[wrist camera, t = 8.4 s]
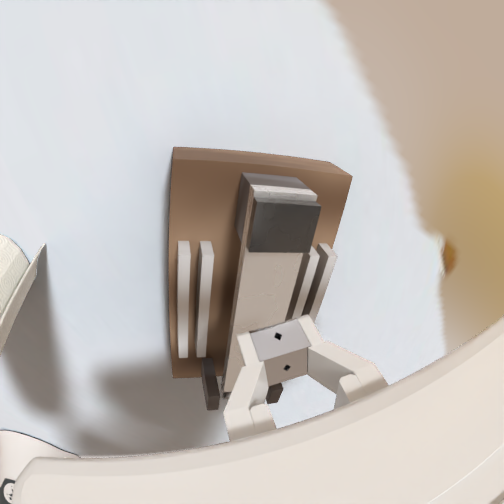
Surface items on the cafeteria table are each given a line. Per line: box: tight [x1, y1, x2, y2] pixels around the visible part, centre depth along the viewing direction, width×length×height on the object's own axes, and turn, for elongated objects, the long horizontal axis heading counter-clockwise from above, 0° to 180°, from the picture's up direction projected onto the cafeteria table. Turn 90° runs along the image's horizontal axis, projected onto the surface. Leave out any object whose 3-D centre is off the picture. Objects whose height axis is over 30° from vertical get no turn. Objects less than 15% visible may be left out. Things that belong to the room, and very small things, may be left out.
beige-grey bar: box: [221, 184, 322, 399], centre depth 17 cm, size 16×3×2 cm, turn 171°
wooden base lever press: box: [169, 147, 353, 410], centre depth 19 cm, size 17×10×6 cm, turn 171°
